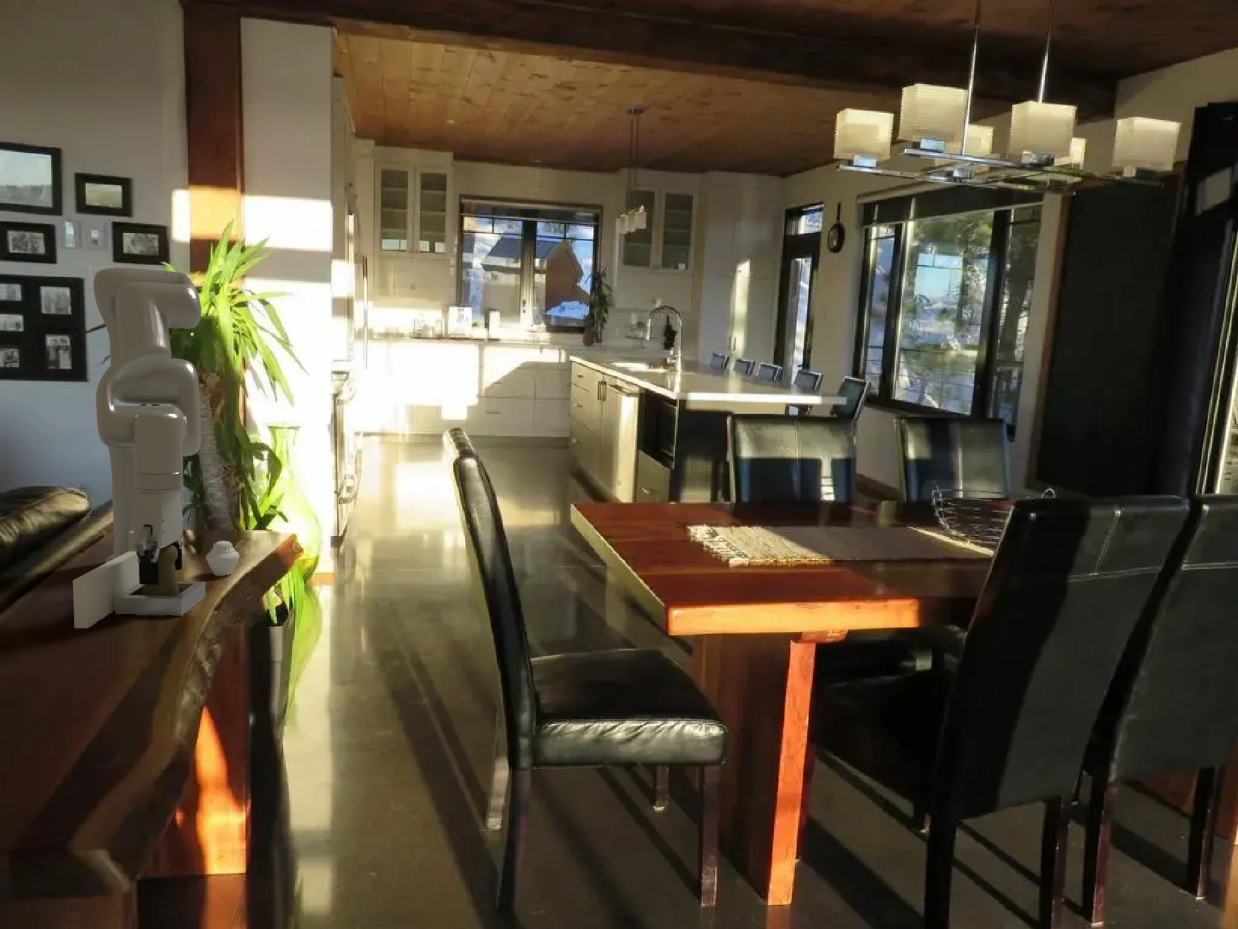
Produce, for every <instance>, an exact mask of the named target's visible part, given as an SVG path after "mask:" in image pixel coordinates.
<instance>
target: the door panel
mask: <svg viewBox="0 0 1238 929" xmlns="http://www.w3.org/2000/svg"><path fill="white" fill-rule="evenodd" d="M136 552H137V549H136V548H135V547H134V545H133V531H130V532H128V552H127V553H125V554H123V555H121V556H119V557H117V558H115V559H113V560H111V561H109V562H107V563H106V562H105V563H104V564H102V565H100V566H98V567H97V568H94V569H92V570H90V571H88V572H85V573H84V574H82V575H81V576H79V577H76V578H75V579H73V580H72V587H73V588H72V590H73V591H72V593H73V616H74V619H73V621H74V629H88V628H90V627H92V626H94V625H95V624H96V623H98V622H100V621H101V620H103V619H105V618H106V617H107V616H109V615H110V614H112V613H113V611H114V610H115V597H116V596H118V595H120V594H121V593H123V592H125V591H126V590H128V589H130V588H131V587H133V586H135V585H136V584H138V583H139V562H138V560H137V559H138V556H137V554H136ZM114 612H115V611H114ZM109 613H110V614H109ZM108 614H109V615H108ZM106 615H107V616H106ZM105 616H106V617H105ZM100 619H101V620H100ZM99 620H100V621H99ZM97 621H98V622H97Z"/></svg>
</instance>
